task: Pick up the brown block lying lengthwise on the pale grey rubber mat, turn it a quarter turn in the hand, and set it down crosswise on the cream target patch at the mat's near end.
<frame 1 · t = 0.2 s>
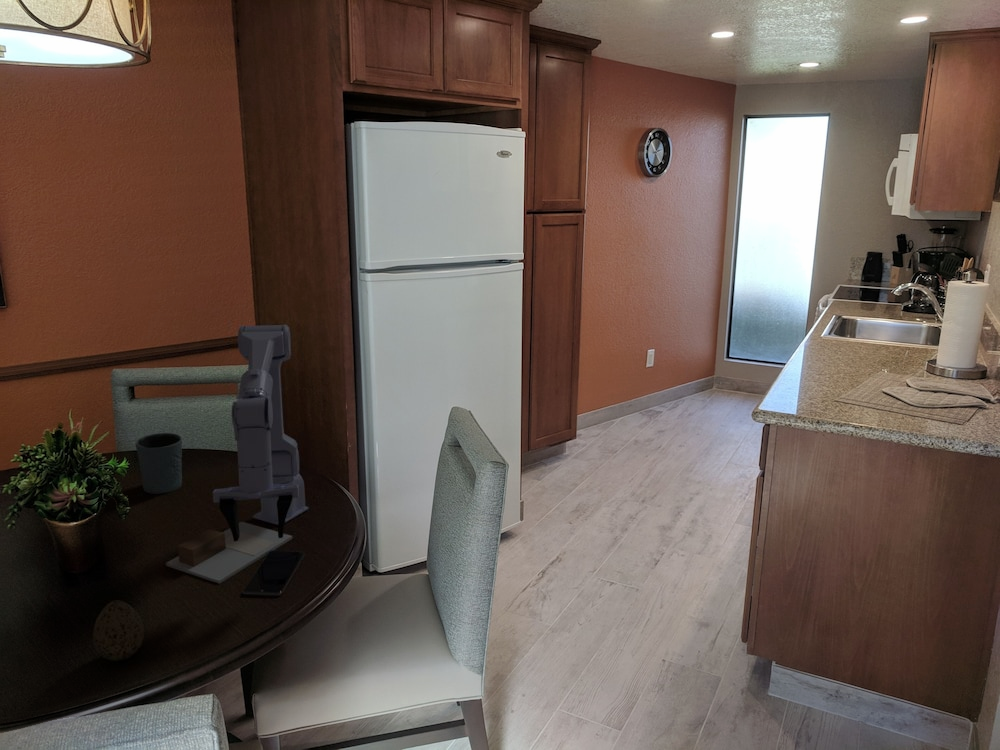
hand: (258, 537, 136), 10 cm above the table, tool pointing down, fingers open, 7 cm apart
decorative egg: (122, 658, 119), on the table
smartphone: (275, 576, 144), on the table
brown block: (203, 555, 149), point 1 cm above the table, touching mat
grey pot: (164, 487, 182), on the table
mat: (231, 551, 152), on the table
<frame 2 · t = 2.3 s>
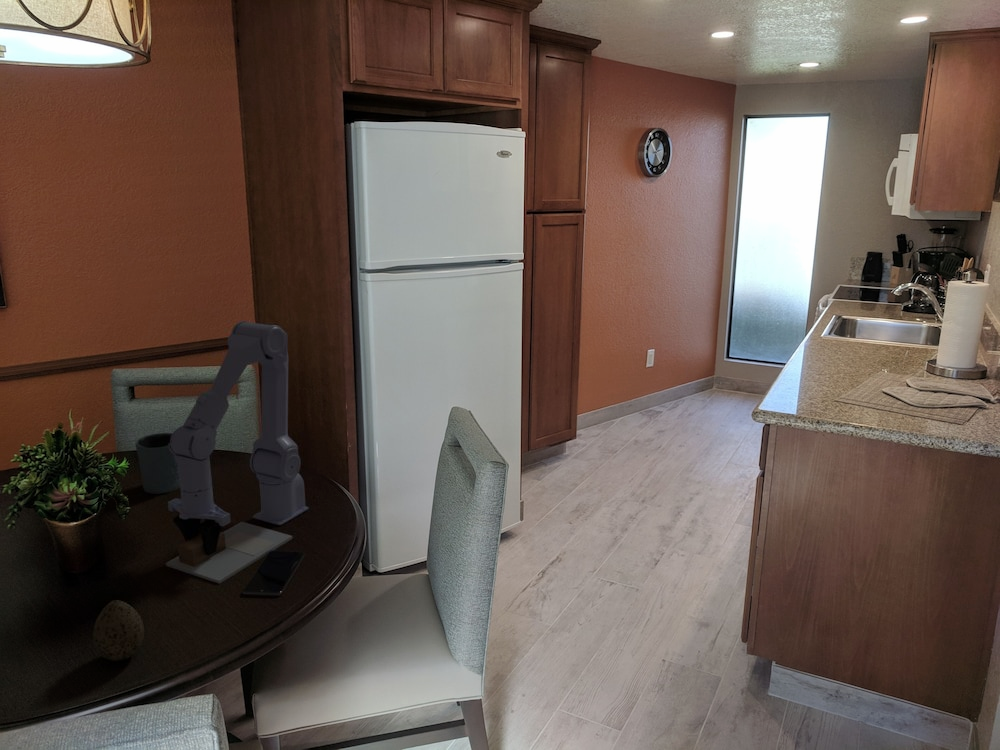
hand: (202, 550, 149), 2 cm above the table, tool pointing down, fingers closed on brown block, 4 cm apart
brown block: (203, 555, 149), point 1 cm above the table, touching gripper, mat
everything else where it was.
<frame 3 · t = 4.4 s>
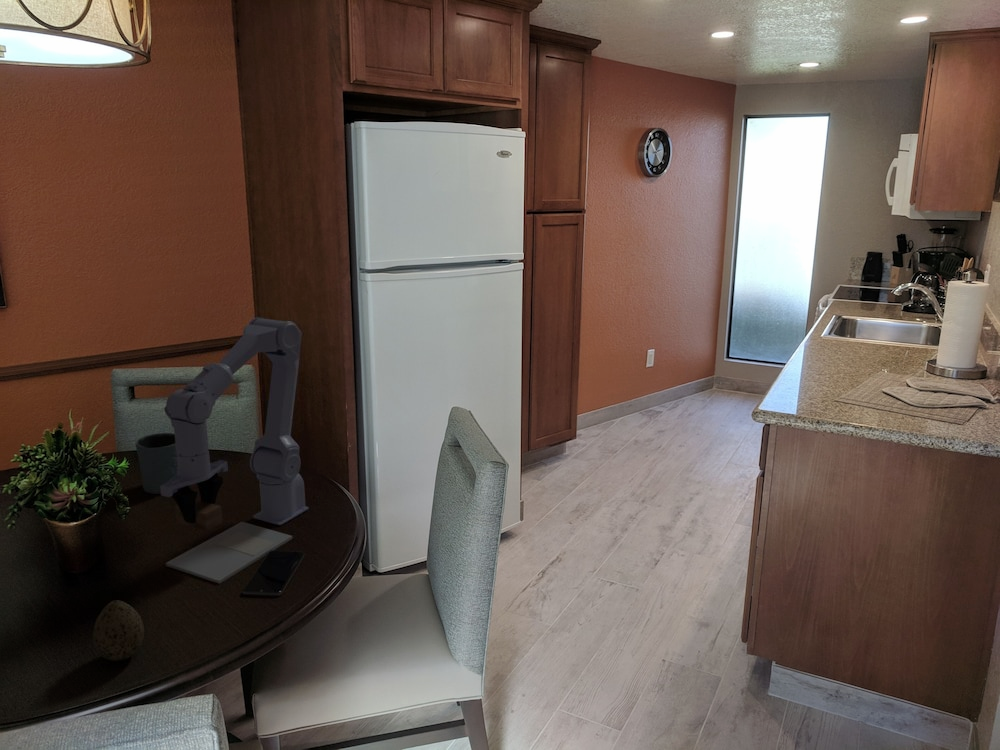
hand: (199, 517, 147), 9 cm above the table, tool pointing down, fingers closed on brown block, 4 cm apart
brown block: (199, 522, 147), point 8 cm above the table, touching gripper
everything else where it was.
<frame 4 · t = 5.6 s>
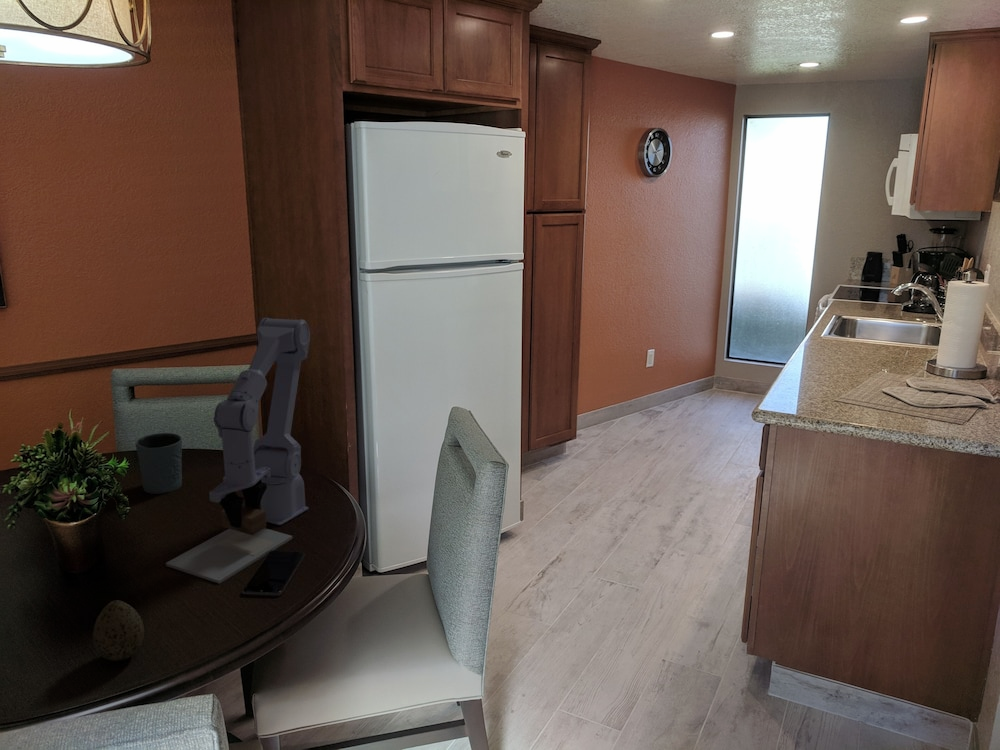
hand: (244, 521, 152), 6 cm above the table, tool pointing down, fingers closed on brown block, 4 cm apart
brown block: (244, 526, 153), point 4 cm above the table, touching gripper
everything else where it was.
when the fingers open (3 cm above the table, at t = 6.5 s): brown block drops 1 cm, resting on mat.
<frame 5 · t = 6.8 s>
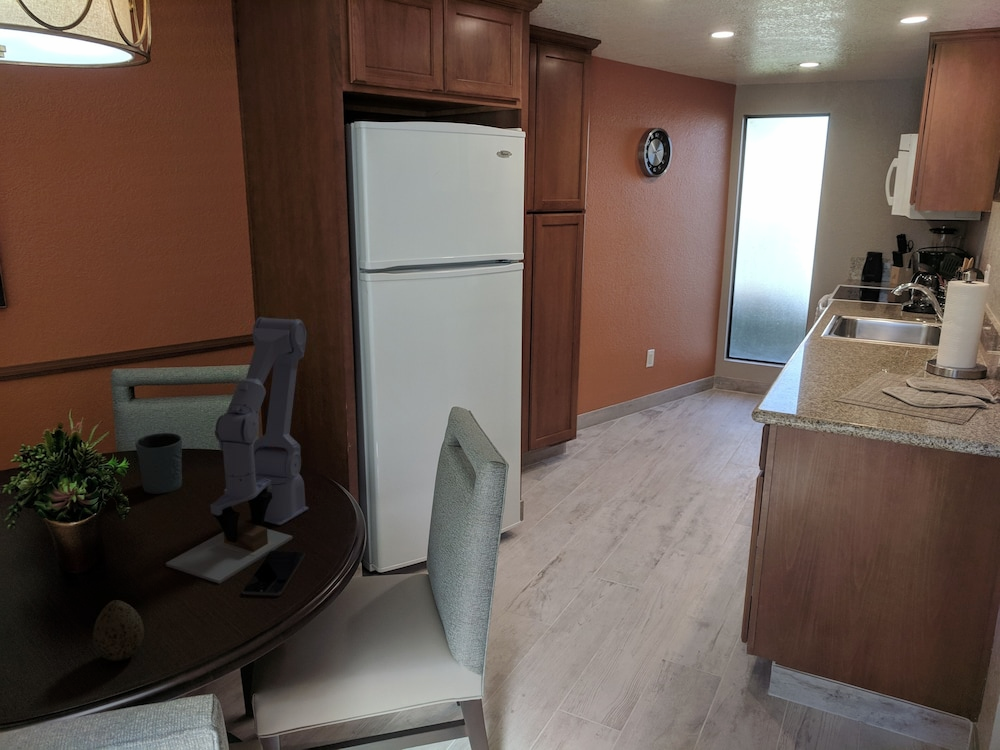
hand: (245, 533, 153), 3 cm above the table, tool pointing down, fingers open, 7 cm apart
brown block: (246, 543, 154), point 1 cm above the table, touching mat
everything else where it was.
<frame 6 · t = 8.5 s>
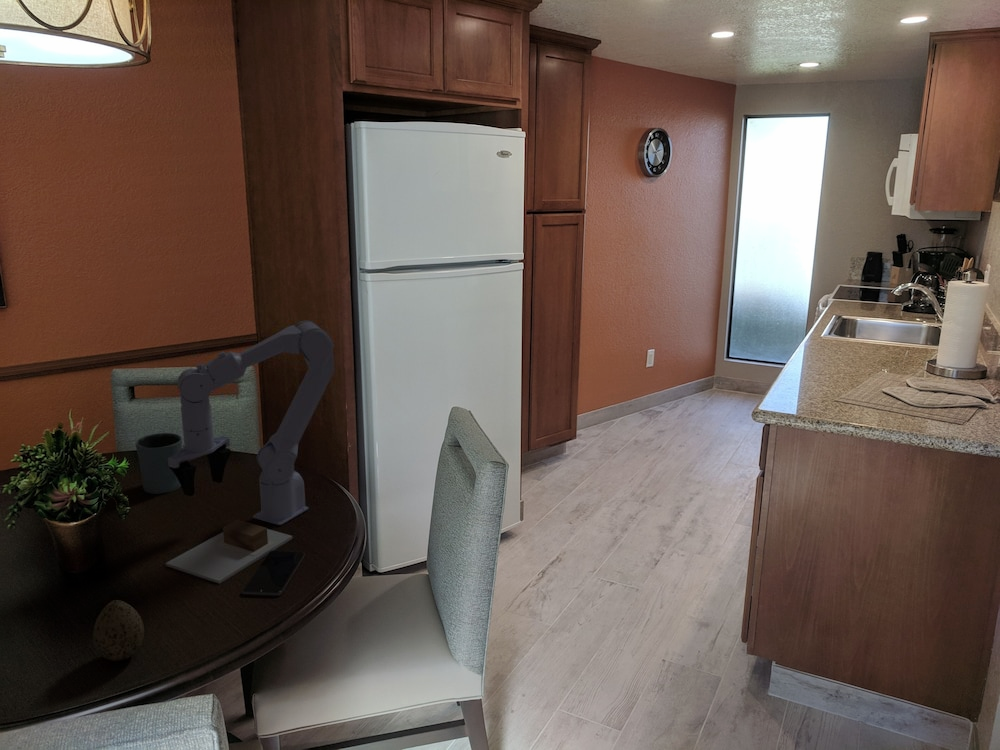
hand: (203, 488, 159), 9 cm above the table, tool pointing down, fingers open, 7 cm apart
nothing on the table moved.
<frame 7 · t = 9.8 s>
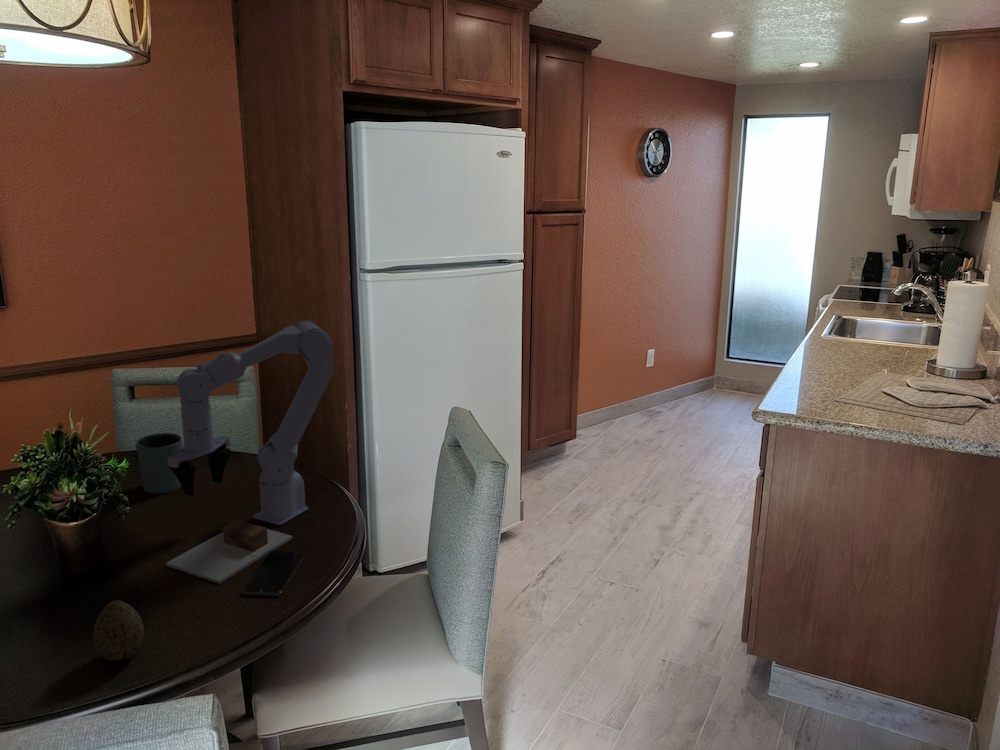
hand: (203, 488, 159), 9 cm above the table, tool pointing down, fingers open, 7 cm apart
nothing on the table moved.
at the end: brown block 0.1 cm from the target spot on the mat, point 0.7 cm above the mat's base; brown block tilted 0°; the gripper is holding nothing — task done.
